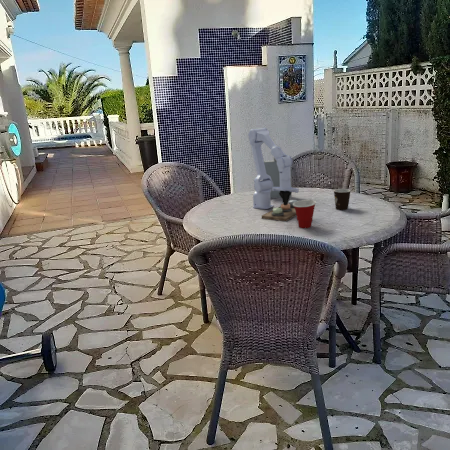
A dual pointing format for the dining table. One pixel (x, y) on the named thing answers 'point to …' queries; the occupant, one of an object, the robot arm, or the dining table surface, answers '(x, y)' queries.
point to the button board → (281, 214)
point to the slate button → (292, 202)
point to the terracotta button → (285, 206)
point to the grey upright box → (274, 176)
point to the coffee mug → (342, 198)
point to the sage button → (277, 210)
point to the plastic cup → (304, 212)
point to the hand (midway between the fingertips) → (285, 204)
